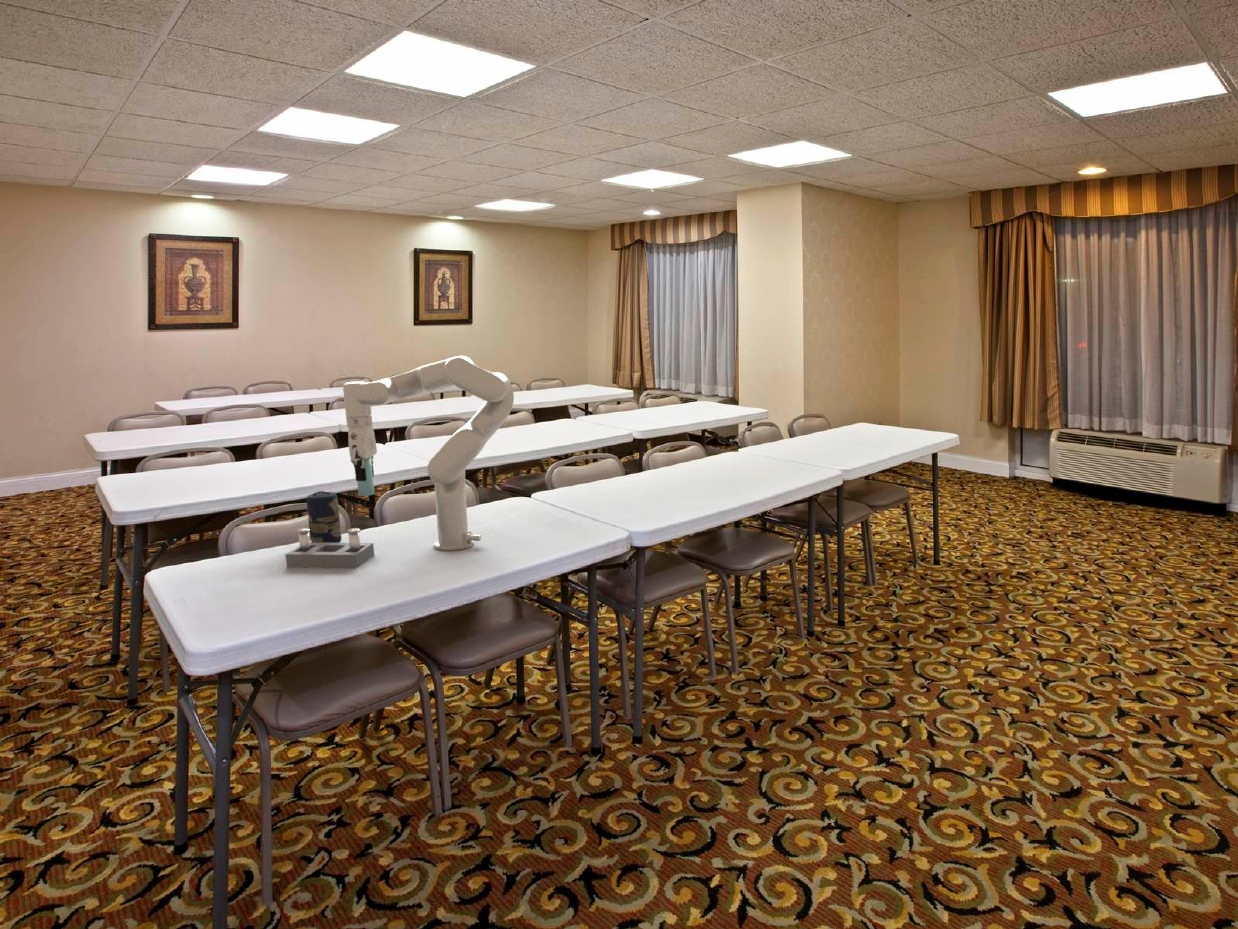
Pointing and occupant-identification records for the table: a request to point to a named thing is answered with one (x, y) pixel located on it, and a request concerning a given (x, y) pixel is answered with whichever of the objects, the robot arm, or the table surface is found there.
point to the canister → (324, 517)
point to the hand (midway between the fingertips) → (365, 478)
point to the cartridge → (366, 486)
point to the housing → (330, 556)
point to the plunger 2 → (354, 539)
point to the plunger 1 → (304, 539)
